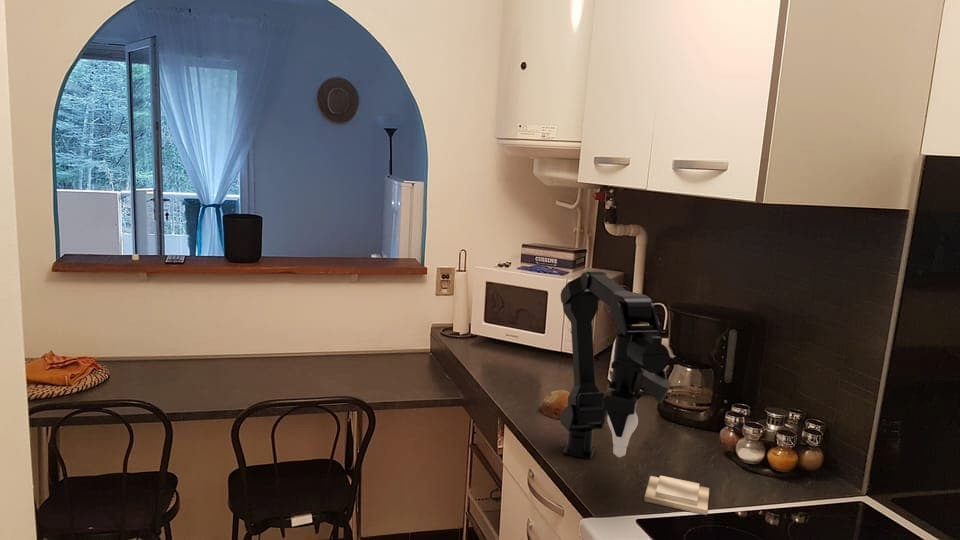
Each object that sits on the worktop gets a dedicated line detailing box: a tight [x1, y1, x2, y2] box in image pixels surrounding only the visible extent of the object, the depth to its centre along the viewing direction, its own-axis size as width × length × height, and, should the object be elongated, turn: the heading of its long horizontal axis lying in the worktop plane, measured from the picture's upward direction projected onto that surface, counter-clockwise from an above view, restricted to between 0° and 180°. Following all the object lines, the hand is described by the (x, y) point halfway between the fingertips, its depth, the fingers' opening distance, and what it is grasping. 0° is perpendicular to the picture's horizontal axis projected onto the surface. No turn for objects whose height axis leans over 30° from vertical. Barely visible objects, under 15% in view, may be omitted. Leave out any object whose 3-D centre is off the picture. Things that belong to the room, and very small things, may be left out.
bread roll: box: [540, 389, 571, 421], centre depth 180 cm, size 10×10×8 cm
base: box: [643, 475, 710, 516], centre depth 138 cm, size 10×12×2 cm
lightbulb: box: [606, 411, 639, 458], centre depth 137 cm, size 6×6×11 cm
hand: (621, 431), depth 137 cm, fingers closed on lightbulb, 6 cm apart
